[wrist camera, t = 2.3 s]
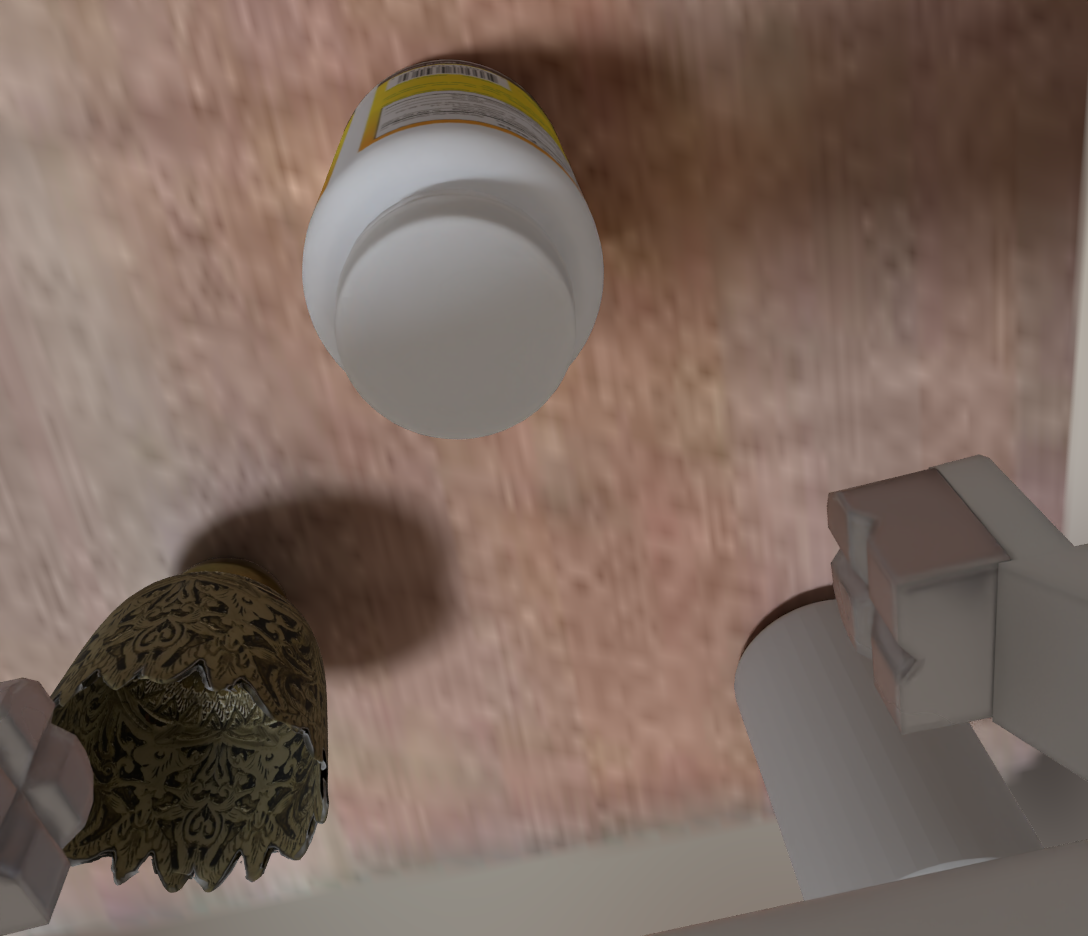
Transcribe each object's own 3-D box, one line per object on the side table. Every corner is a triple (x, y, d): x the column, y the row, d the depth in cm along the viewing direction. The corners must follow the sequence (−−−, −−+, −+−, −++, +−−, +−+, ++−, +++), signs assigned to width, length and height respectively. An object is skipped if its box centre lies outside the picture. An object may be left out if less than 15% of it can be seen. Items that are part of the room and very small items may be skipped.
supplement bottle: (439, 319, 27) (434, 536, 18) (291, 153, 24) (204, 314, 16) (606, 190, 25) (689, 359, 17) (468, 0, 23) (481, 83, 14)
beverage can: (886, 723, 36) (1056, 1057, 26) (714, 725, 36) (820, 1070, 26) (931, 583, 33) (1147, 904, 23) (743, 584, 32) (879, 914, 22)
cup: (85, 495, 29) (-28, 691, 22) (343, 491, 29) (311, 680, 23) (132, 687, 33) (48, 904, 26) (360, 679, 33) (336, 889, 26)
